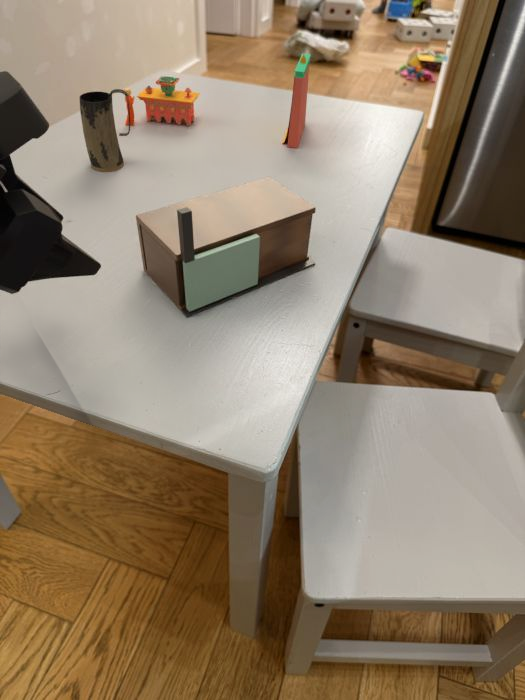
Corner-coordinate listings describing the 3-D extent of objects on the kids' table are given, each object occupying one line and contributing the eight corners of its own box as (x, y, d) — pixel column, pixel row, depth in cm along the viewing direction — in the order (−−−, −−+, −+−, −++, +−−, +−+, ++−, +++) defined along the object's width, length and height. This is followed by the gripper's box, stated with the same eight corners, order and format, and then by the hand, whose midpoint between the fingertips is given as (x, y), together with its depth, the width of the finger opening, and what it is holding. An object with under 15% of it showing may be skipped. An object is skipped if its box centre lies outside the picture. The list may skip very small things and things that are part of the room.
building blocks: (297, 147, 95) (305, 65, 85) (122, 127, 98) (109, 45, 88) (305, 123, 104) (312, 46, 94) (143, 105, 107) (134, 29, 97)
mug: (88, 171, 84) (72, 96, 76) (92, 157, 88) (77, 84, 80) (136, 171, 85) (125, 96, 77) (138, 157, 89) (128, 84, 80)
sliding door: (189, 312, 59) (181, 214, 50) (185, 308, 59) (176, 209, 50) (258, 284, 63) (263, 189, 54) (253, 280, 64) (257, 185, 55)
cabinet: (186, 317, 59) (182, 261, 53) (143, 270, 65) (135, 215, 60) (315, 264, 68) (322, 211, 62) (266, 227, 74) (269, 176, 68)
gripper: (-19, 77, 26) (180, 218, 38) (-84, 4, 36) (89, 133, 49) (-124, 248, 28) (98, 329, 40) (-157, 131, 38) (28, 224, 51)
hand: (78, 243), depth 45 cm, fingers open, 9 cm apart
